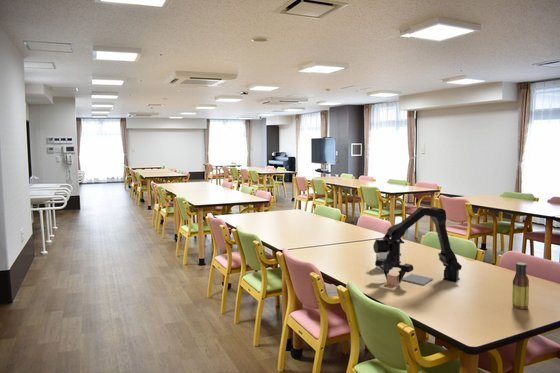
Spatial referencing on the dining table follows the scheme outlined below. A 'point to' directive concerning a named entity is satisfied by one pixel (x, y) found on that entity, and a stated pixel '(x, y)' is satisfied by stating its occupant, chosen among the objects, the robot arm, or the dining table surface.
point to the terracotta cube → (393, 278)
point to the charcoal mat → (417, 279)
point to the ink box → (381, 255)
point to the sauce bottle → (520, 287)
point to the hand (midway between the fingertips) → (393, 281)
